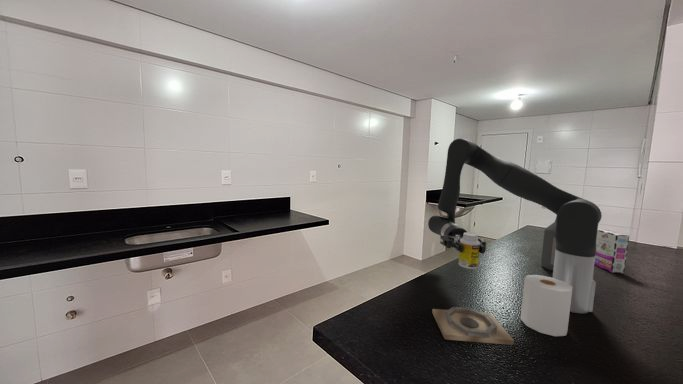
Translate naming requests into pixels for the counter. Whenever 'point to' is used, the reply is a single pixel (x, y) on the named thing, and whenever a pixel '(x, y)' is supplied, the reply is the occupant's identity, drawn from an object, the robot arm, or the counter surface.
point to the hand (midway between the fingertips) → (472, 249)
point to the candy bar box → (611, 251)
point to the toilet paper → (546, 304)
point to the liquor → (549, 247)
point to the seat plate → (470, 326)
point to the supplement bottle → (469, 251)
